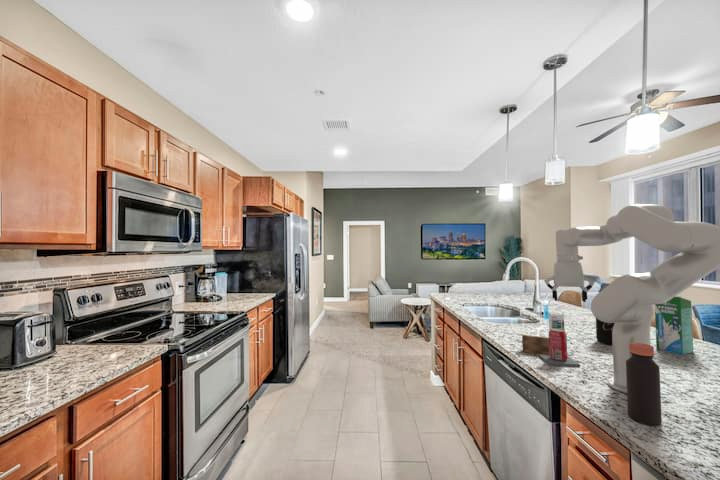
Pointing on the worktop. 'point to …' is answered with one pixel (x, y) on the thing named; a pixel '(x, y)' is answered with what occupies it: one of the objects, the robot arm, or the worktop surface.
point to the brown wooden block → (535, 344)
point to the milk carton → (674, 326)
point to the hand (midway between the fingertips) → (569, 300)
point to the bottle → (643, 385)
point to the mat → (554, 362)
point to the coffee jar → (604, 332)
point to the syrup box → (556, 320)
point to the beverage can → (558, 344)
